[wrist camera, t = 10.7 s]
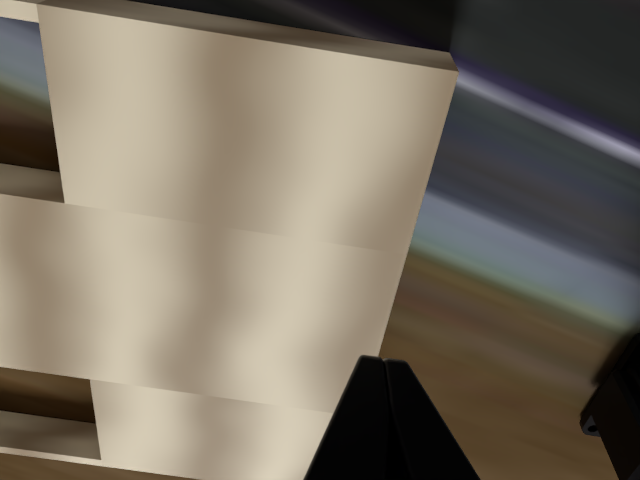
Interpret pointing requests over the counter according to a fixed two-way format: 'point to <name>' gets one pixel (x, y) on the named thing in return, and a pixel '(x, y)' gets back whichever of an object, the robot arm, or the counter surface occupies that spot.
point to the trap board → (209, 231)
